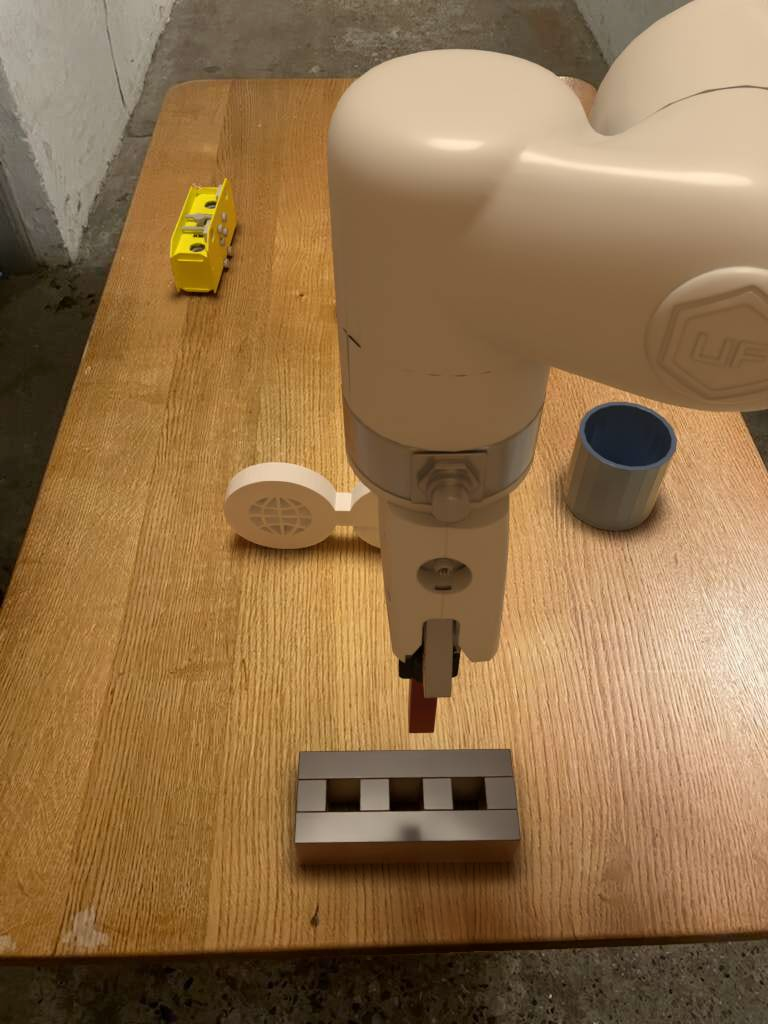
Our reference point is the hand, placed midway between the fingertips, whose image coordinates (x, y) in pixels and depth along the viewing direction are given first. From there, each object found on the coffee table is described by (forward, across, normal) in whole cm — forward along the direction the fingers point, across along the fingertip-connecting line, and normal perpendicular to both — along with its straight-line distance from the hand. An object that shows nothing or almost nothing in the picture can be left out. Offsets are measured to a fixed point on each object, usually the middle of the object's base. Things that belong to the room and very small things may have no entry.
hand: (426, 653), depth 46 cm
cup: (+25, +32, -21) cm, 45 cm away
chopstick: (+9, 0, 0) cm, 9 cm away
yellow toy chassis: (+24, +74, +24) cm, 81 cm away
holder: (+24, 0, +1) cm, 24 cm away
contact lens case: (+25, +26, +6) cm, 37 cm away
